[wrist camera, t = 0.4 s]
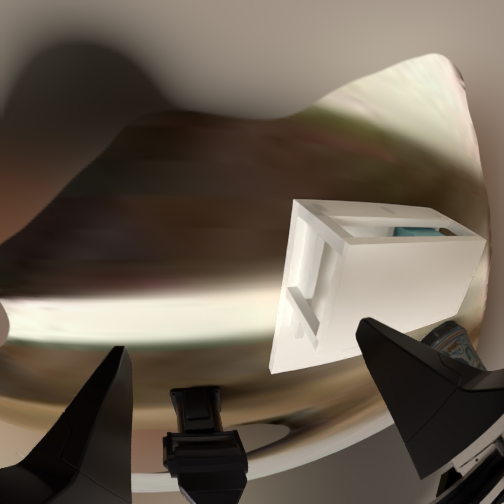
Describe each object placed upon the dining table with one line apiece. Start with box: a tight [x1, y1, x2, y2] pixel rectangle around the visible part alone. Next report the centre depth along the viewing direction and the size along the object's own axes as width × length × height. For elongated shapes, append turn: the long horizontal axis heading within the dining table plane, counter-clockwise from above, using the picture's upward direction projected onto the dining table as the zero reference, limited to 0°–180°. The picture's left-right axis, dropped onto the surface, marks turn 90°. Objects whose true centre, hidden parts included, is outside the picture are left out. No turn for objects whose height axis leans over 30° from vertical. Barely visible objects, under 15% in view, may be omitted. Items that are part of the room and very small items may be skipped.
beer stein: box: [421, 321, 487, 371], centre depth 33 cm, size 16×19×25 cm
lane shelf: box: [269, 199, 487, 374], centre depth 25 cm, size 21×18×9 cm
